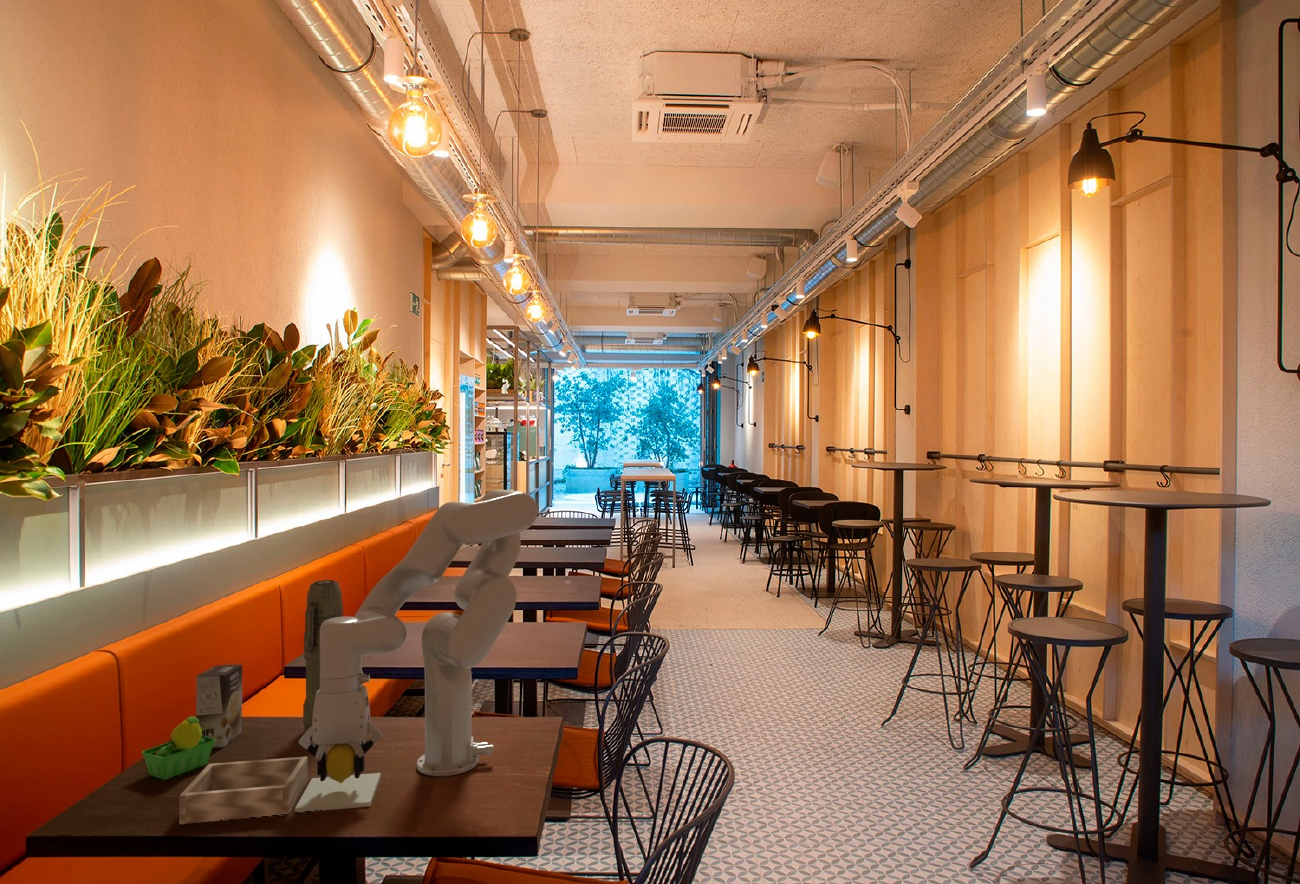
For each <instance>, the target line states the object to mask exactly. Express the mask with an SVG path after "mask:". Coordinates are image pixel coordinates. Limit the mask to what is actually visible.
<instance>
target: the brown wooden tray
mask: <svg viewBox="0 0 1300 884" xmlns="http://www.w3.org/2000/svg"><path fill="white" fill-rule="evenodd" d="M308 760H309V758H308V756H296V757H283V758H282V757H281V758H270V759H269V758H268V759H267V758H266V759H255V760H243V761H231V762H230V761H228V762H217V763H216V762H215V763H207V764H206V765H205V768H204V769H203V770H201V772H200V773H199V774H198V775H197V776H196V777H195V778H194V779H193V780H192V781H191V782H190V784H189V785H187V787H186V788H185V789H184V790H183V791H182V792H181V793H180V794H179V804H178V809H179V811H178V812H179V813H178V814H179V815H178V816H179V817H178V822H179V824H178V825H185V824H196V823H197V824H198V823H206V822H207V823H208V822H209V821H210V822H220V820H222V821H230V819H233V820H243V819H244V818H245V819H251V818H250V817H256V818H263V817H262V816H268V817H273V816H272V815H279V816H282V815H281V814H288V813H289V814H290V812H291V811H292V810H293V808H292V807H294V806H295V804H296V803H297V801H298V799H299V798H300V796H301V794H302V792H303V790H304V789H305V786H306V785H307V783H308V767H309V765H308Z"/></svg>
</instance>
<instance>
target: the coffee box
mask: <svg viewBox="0 0 1300 884" xmlns="http://www.w3.org/2000/svg"><path fill="white" fill-rule="evenodd" d="M195 692H196V694H195V695H196V696H195V697H196V700H195V701H196V704H195V705H196V706H195V707H196V708H195V709H196V710H195V717H196V718H198V720H199V726H200V728H201V731H202V736H206V737H209V738H212V739H215V743H214V745H213V747H212V748H224V747H226V746H227V745H228V744H230V743H231V742H232V741H234V740H235V739H236V738H237V737H238V736H239V735H240V734H242V733H243V732H242V731H243V730H242V728H243V726H242V723H243V720H242V718H243V716H242V715H243V664H223V665H222V664H221V665H218V664H217V665H214V666H212V667H210V668H208V669H206V670H205V671H203V672H201V673H199V674H198V675H196V691H195ZM230 741H231V742H230ZM229 742H230V743H229Z"/></svg>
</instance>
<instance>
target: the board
mask: <svg viewBox="0 0 1300 884" xmlns="http://www.w3.org/2000/svg"><path fill="white" fill-rule="evenodd" d="M381 774H382V773H381V772H374V773H361V774H360V776H359V778H355V774H352V775H351V776H350V777H349V778H347V779H345V780H344V782H343V783H339V782H338V781H335V780H333V779H331V778H330V777H329V776H327V777H326V779H325V780H324V781H320V777H313V778H311V780H310V781H309V783H308V785H307V787H306V789H305V790H304V792H303V793H302V796H301V797H300V799H299V801H298V803H297V805H296V806H295V807H294V813H295V812H299V813H306V812H305V811H311V812H321V811H320V810H322V811H330V810H332V811H333V810H342V809H355V808H356V809H357V808H366V807H367V808H368V807H371V804H372V802H373V799H374V797H375V794H376V791H377V788H378V786H379V782H380V780H381V777H382V775H381ZM315 810H316V811H315ZM317 810H318V811H317Z"/></svg>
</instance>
